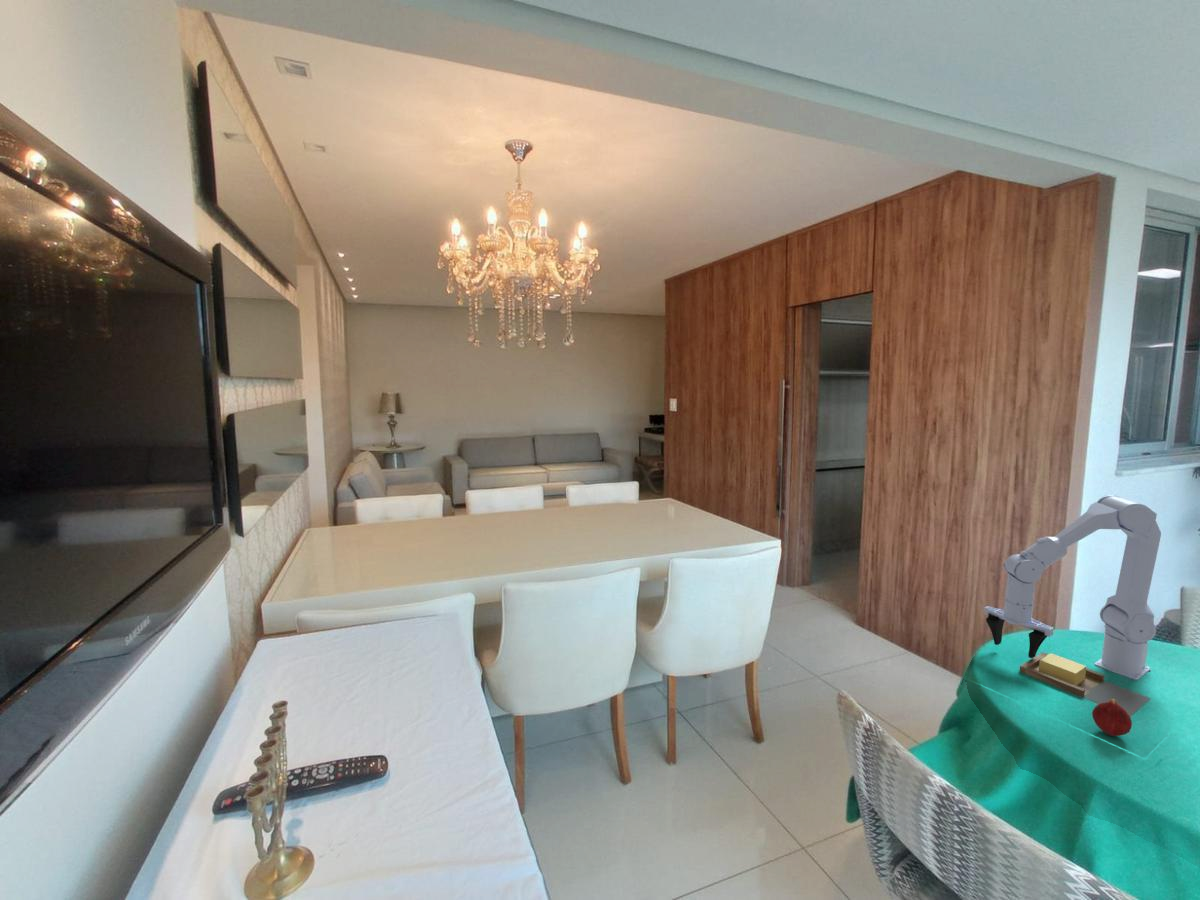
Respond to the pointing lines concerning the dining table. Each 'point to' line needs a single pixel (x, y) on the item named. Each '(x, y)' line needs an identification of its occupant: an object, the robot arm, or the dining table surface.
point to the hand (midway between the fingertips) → (1014, 650)
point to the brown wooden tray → (1081, 689)
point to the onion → (1112, 718)
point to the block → (1062, 669)
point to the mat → (1117, 697)
